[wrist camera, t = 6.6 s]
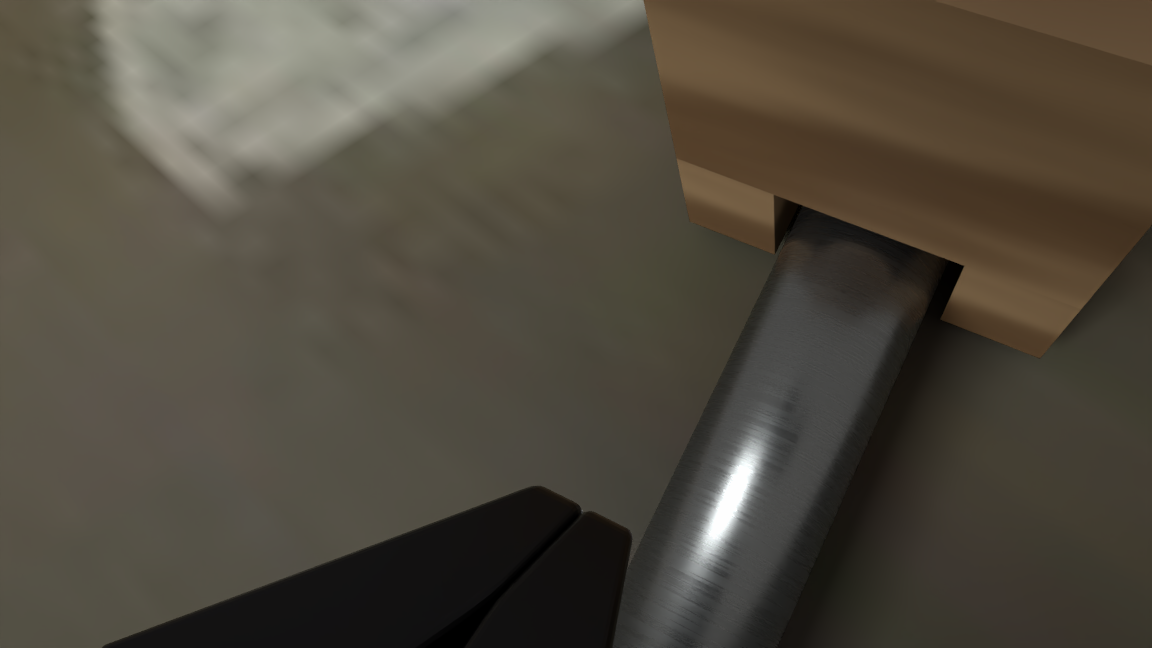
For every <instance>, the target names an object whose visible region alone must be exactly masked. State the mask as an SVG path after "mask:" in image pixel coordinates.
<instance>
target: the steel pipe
mask: <svg viewBox="0 0 1152 648" xmlns="http://www.w3.org/2000/svg"><path fill="white" fill-rule="evenodd" d="M948 261H949V260H947V259H945V258H942V257H939V256H937V255H934V254H931V253H929V252H926V251H923V250H921V249H918V248H915V247H913V246H910V245H907V244H905V243H902V242H899V241H897V240H894V239H891V238H888V237H886V236H883V235H880V234H878V233H875V232H872V231H870V230H867V229H864V228H862V227H859V226H856V225H854V224H851V223H848V222H846V221H843V220H840V219H838V218H835V217H832V216H829V215H827V214H824V213H821V212H819V211H816V210H813V209H811V208H808V207H805V206H802V208H801V210H800V212H799V215H798V217H797V219H796V221H795V223H794V225H793V227H792V229H791V231H790V233H789V235H788V237H787V239H786V241H785V244H784V246H783V248H782V250H781V252H780V254H779V256H778V258H777V260H776V262H775V264H774V266H773V268H772V271H771V273H770V275H769V277H768V279H767V281H766V283H765V285H764V287H763V289H762V291H761V293H760V295H759V297H758V300H757V302H756V304H755V306H754V308H753V310H752V312H751V314H750V316H749V318H748V320H747V322H746V324H745V327H744V329H743V331H742V333H741V335H740V337H739V339H738V341H737V343H736V345H735V347H734V349H733V351H732V353H731V356H730V358H729V360H728V362H727V364H726V366H725V368H724V370H723V372H722V374H721V376H720V378H719V380H718V382H717V385H716V387H715V389H714V391H713V393H712V395H711V397H710V399H709V401H708V403H707V405H706V407H705V409H704V412H703V414H702V416H701V418H700V420H699V422H698V424H697V426H696V428H695V430H694V432H693V434H692V436H691V438H690V441H689V443H688V445H687V447H686V449H685V451H684V453H683V455H682V457H681V459H680V461H679V463H678V465H677V468H676V470H675V472H674V474H673V476H672V478H671V480H670V482H669V484H668V486H667V488H666V490H665V492H664V494H663V497H662V499H661V501H660V503H659V505H658V507H657V509H656V511H655V513H654V515H653V517H652V519H651V521H650V524H649V526H648V528H647V530H646V532H645V534H644V536H643V538H642V540H641V542H640V544H639V546H638V548H637V550H636V553H635V555H634V557H633V559H632V561H631V563H630V565H629V567H628V569H627V572H626V577H625V583H624V588H623V593H622V599H621V604H620V609H619V615H618V620H617V626H616V631H615V636H614V642H613V647H612V648H777V647H778V644H779V642H780V640H781V638H782V635H783V633H784V631H785V629H786V626H787V624H788V622H789V620H790V617H791V615H792V613H793V611H794V608H795V606H796V604H797V602H798V599H799V597H800V595H801V593H802V590H803V588H804V586H805V584H806V581H807V579H808V577H809V575H810V572H811V570H812V568H813V566H814V563H815V561H816V559H817V556H818V554H819V552H820V550H821V547H822V545H823V543H824V541H825V538H826V536H827V534H828V532H829V529H830V527H831V525H832V523H833V520H834V518H835V516H836V514H837V511H838V509H839V507H840V505H841V502H842V500H843V498H844V496H845V493H846V491H847V489H848V487H849V484H850V482H851V480H852V478H853V475H854V473H855V471H856V469H857V466H858V464H859V462H860V460H861V457H862V455H863V453H864V451H865V448H866V446H867V444H868V442H869V439H870V437H871V435H872V433H873V430H874V428H875V426H876V424H877V421H878V419H879V417H880V415H881V412H882V410H883V408H884V406H885V403H886V401H887V399H888V397H889V394H890V392H891V390H892V387H893V385H894V383H895V381H896V378H897V376H898V374H899V372H900V369H901V367H902V365H903V363H904V360H905V358H906V356H907V354H908V351H909V349H910V347H911V345H912V342H913V340H914V338H915V336H916V333H917V331H918V329H919V327H920V324H921V322H922V320H923V318H924V315H925V313H926V311H927V309H928V306H929V304H930V302H931V300H932V297H933V295H934V293H935V291H936V288H937V286H938V284H939V282H940V279H941V277H942V275H943V273H944V270H945V268H946V266H947V264H948Z"/></svg>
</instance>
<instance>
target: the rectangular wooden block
mask: <svg viewBox="0 0 1152 648" xmlns="http://www.w3.org/2000/svg"><path fill="white" fill-rule="evenodd" d="M644 4H645V9H646V14H647V19H648V23H649V28H650V33H651V38H652V43H653V47H654V52H655V57H656V62H657V67H658V71H659V76H660V81H661V86H662V91H663V95H664V100H665V105H666V110H667V115H668V119H669V124H670V129H671V134H672V139H673V143H674V148H675V153H676V158H677V163H678V167H679V172H680V177H681V182H682V187H683V191H684V196H685V201H686V206H687V211H688V215H689V220H690V222H693V223H695V224H698V225H700V226H703V227H706V228H708V229H711V230H713V231H716V232H718V233H721V234H723V235H726V236H728V237H731V238H734V239H736V240H739V241H741V242H744V243H746V244H749V245H751V246H754V247H757V248H759V249H762V250H764V251H767V252H769V253H772V254H774V255H775V253H776V251H777V249H778V247H779V245H780V243H781V241H782V239H783V237H784V235H785V233H786V230H787V228H788V226H789V224H790V222H791V220H792V218H793V216H794V214H795V212H796V210H797V208H798V206H799V204H800V205H803V206H805V207H808V208H811V209H813V210H816V211H819V212H821V213H824V214H827V215H829V216H832V217H835V218H838V219H840V220H843V221H846V222H848V223H851V224H854V225H856V226H859V227H862V228H864V229H867V230H870V231H872V232H875V233H878V234H880V235H883V236H886V237H888V238H891V239H894V240H897V241H899V242H902V243H905V244H907V245H910V246H913V247H915V248H918V249H921V250H923V251H926V252H929V253H931V254H934V255H937V256H939V257H942V258H945V259H947V260H950V261H953V262H955V263H958V264H961V265H964V267H963V269H962V271H961V274H960V276H959V278H958V280H957V283H956V285H955V287H954V290H953V292H952V294H951V296H950V299H949V301H948V303H947V305H946V308H945V310H944V312H943V315H942V317H941V319H940V320H943V321H945V322H948V323H951V324H953V325H956V326H958V327H961V328H963V329H966V330H968V331H971V332H974V333H976V334H979V335H981V336H984V337H986V338H989V339H991V340H994V341H996V342H999V343H1002V344H1004V345H1007V346H1009V347H1012V348H1014V349H1017V350H1019V351H1022V352H1025V353H1027V354H1030V355H1032V356H1035V357H1037V358H1041V357H1042V355H1043V354H1044V353H1045V352H1046V351H1047V350H1048V348H1049V347H1050V346H1051V345H1052V344H1053V342H1054V341H1055V340H1056V339H1057V338H1058V336H1059V335H1060V334H1061V333H1062V332H1063V330H1064V329H1065V328H1066V327H1067V326H1068V324H1069V323H1070V322H1071V321H1072V320H1073V319H1074V317H1075V316H1076V315H1077V314H1078V313H1079V311H1080V310H1081V309H1082V308H1083V307H1084V305H1085V304H1086V303H1087V302H1088V301H1089V299H1090V298H1091V297H1092V296H1093V295H1094V293H1095V292H1096V291H1097V290H1098V289H1099V288H1100V286H1101V285H1102V284H1103V283H1104V282H1105V280H1106V279H1107V278H1108V277H1109V276H1110V274H1111V273H1112V272H1113V271H1114V270H1115V268H1116V267H1117V266H1118V265H1119V264H1120V262H1121V261H1122V260H1123V259H1124V258H1125V257H1126V255H1127V254H1128V253H1129V252H1130V251H1131V249H1132V248H1133V247H1134V246H1135V245H1136V243H1137V242H1138V241H1139V240H1140V239H1141V237H1142V236H1143V235H1144V234H1145V233H1146V231H1147V230H1148V229H1149V228H1150V227H1151V226H1152V0H644Z"/></svg>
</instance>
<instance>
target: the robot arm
mask: <svg viewBox="0 0 1152 648" xmlns="http://www.w3.org/2000/svg"><path fill="white" fill-rule="evenodd" d="M631 545H632V533H631V532H630V530H628V529H627V528H625V527H623V526H621V525H619V524H617V523H615V522H613V521H611V520H609V519H607V518H605V517H603V516H601V515H599V514H597V513H595V512H592V511H588V512H584V513H583V511H582V509H581V508H580V506H579V505H578V504H577V503H575V502H573V501H571V500H569V499H567V498H565V497H563V496H561V495H559V494H557V493H555V492H553V491H551V490H549V489H547V488H545V487H542V486H531V487H528V488H525V489H522V490H520V491H517V492H514V493H512V494H509V495H506V496H504V497H501V498H498V499H496V500H493V501H490V502H488V503H485V504H482V505H480V506H477V507H474V508H471V509H469V510H466V511H463V512H461V513H458V514H455V515H453V516H450V517H447V518H445V519H442V520H439V521H437V522H434V523H431V524H429V525H426V526H423V527H420V528H418V529H415V530H412V531H410V532H407V533H404V534H402V535H399V536H396V537H394V538H391V539H388V540H386V541H383V542H380V543H378V544H375V545H372V546H369V547H367V548H364V549H361V550H359V551H356V552H353V553H351V554H348V555H345V556H343V557H340V558H337V559H335V560H332V561H329V562H327V563H324V564H321V565H318V566H316V567H313V568H310V569H308V570H305V571H302V572H300V573H297V574H294V575H292V576H289V577H286V578H284V579H281V580H278V581H275V582H273V583H270V584H267V585H265V586H262V587H259V588H257V589H254V590H251V591H249V592H246V593H243V594H241V595H238V596H235V597H233V598H230V599H227V600H224V601H222V602H219V603H216V604H214V605H211V606H208V607H206V608H203V609H200V610H198V611H195V612H192V613H190V614H187V615H184V616H182V617H179V618H176V619H173V620H171V621H168V622H165V623H163V624H160V625H157V626H155V627H152V628H149V629H147V630H144V631H141V632H139V633H136V634H133V635H131V636H128V637H125V638H122V639H120V640H117V641H114V642H112V643H109V644H106V645H104V646H103V647H102V648H612V647H613V642H614V636H615V631H616V626H617V620H618V615H619V609H620V604H621V599H622V593H623V588H624V583H625V577H626V572H627V567H628V561H629V556H630V551H631Z"/></svg>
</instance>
